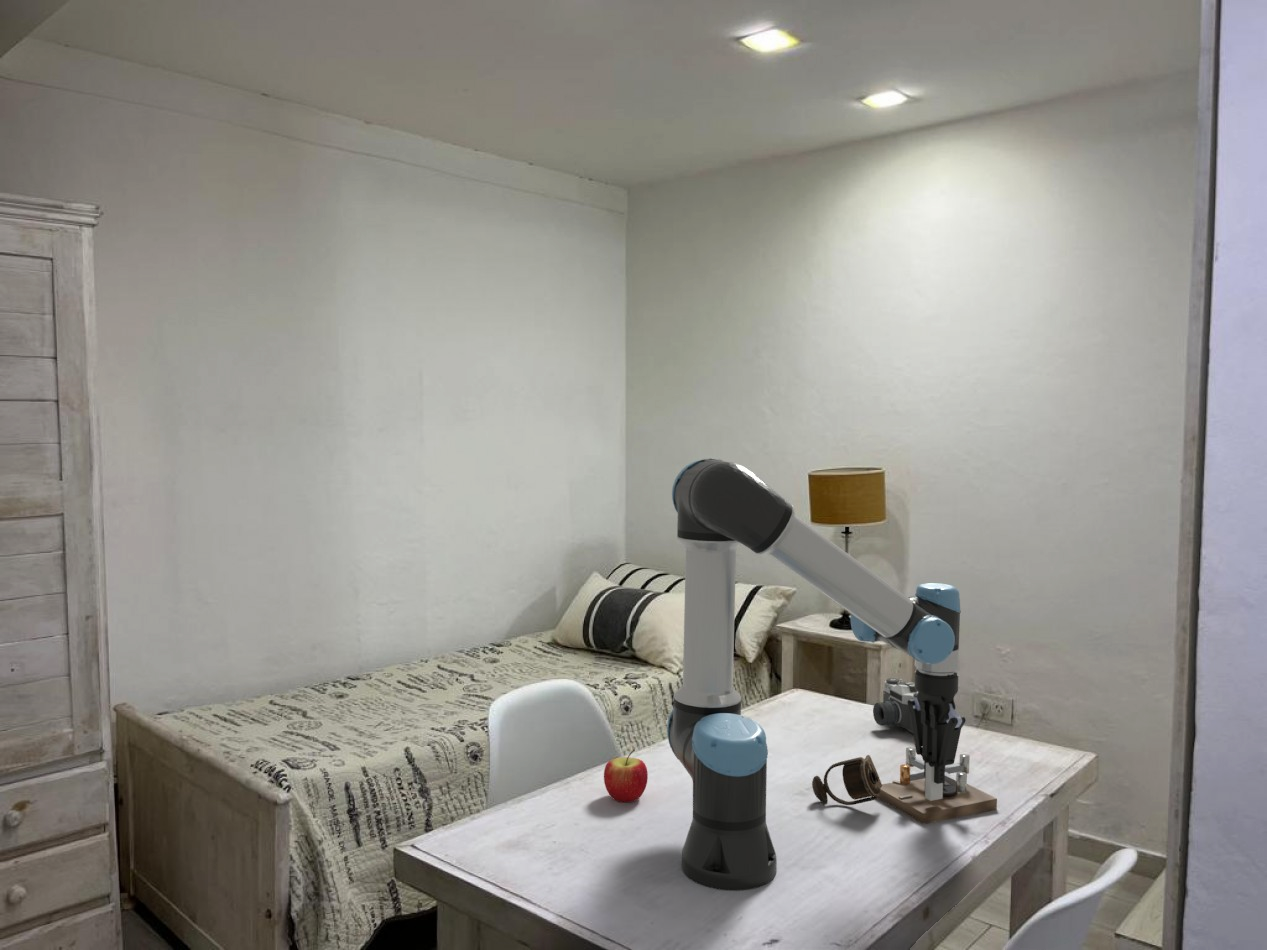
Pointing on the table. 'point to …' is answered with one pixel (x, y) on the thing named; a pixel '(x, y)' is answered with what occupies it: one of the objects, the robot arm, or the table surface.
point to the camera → (895, 704)
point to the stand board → (935, 801)
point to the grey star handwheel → (951, 782)
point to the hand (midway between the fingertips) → (933, 798)
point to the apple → (625, 778)
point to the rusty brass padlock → (852, 781)
